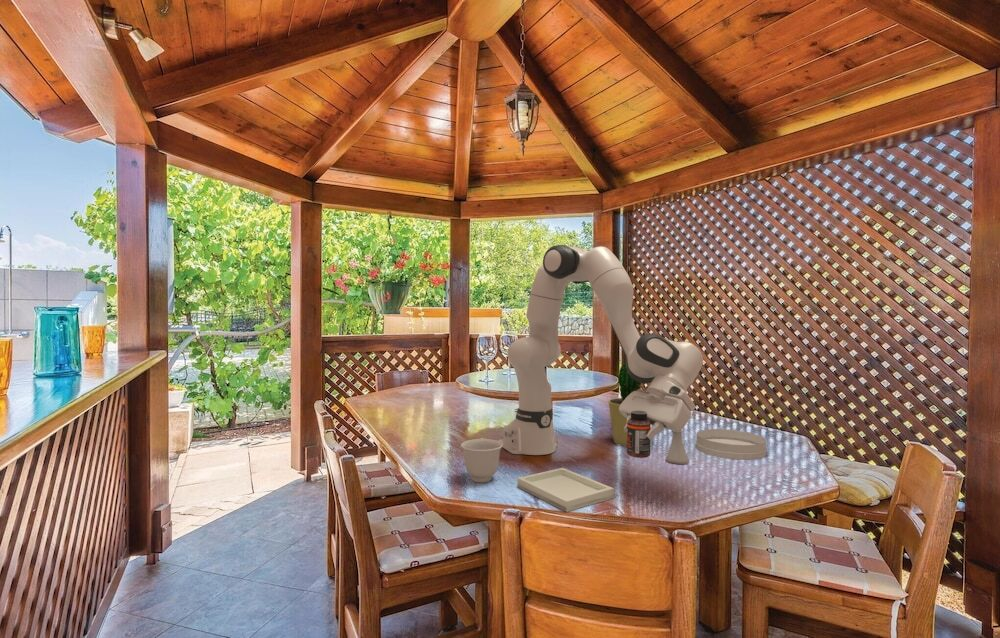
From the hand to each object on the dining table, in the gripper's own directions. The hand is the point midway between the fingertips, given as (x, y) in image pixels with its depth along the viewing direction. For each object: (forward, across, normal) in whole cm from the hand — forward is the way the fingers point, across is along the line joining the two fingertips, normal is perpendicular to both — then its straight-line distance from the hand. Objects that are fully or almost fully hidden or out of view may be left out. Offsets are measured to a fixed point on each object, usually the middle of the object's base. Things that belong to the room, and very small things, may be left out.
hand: (637, 434), depth 131 cm
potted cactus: (-14, -39, +37) cm, 56 cm away
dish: (-30, -15, +53) cm, 63 cm away
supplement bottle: (+4, 0, +4) cm, 6 cm away
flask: (-12, -15, +35) cm, 40 cm away
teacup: (+32, -32, -9) cm, 46 cm away
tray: (+22, -11, +1) cm, 24 cm away
